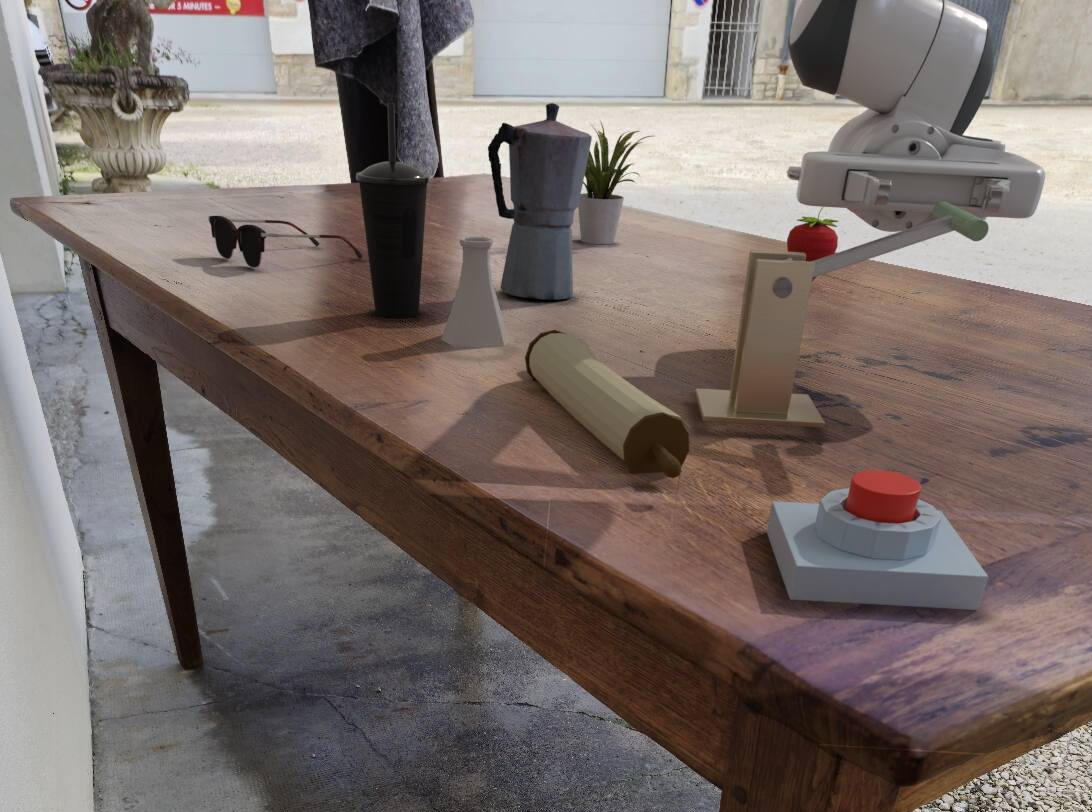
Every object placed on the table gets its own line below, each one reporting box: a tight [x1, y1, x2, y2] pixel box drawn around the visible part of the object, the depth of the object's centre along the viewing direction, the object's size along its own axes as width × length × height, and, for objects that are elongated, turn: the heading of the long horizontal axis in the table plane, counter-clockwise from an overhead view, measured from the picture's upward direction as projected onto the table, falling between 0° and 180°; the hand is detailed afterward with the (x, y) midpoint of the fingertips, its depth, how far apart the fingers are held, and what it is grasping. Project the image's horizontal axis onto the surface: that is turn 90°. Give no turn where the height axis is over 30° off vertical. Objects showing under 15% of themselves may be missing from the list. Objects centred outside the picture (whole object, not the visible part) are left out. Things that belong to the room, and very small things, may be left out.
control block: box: [766, 487, 989, 611], centre depth 64 cm, size 11×10×4 cm
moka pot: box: [487, 102, 593, 301], centre depth 121 cm, size 10×15×20 cm, turn 136°
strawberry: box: [786, 207, 839, 282], centre depth 135 cm, size 6×8×10 cm
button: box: [845, 470, 922, 524], centre depth 62 cm, size 4×4×2 cm
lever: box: [784, 201, 990, 278], centre depth 82 cm, size 16×10×2 cm, turn 87°
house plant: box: [577, 120, 654, 245], centre depth 157 cm, size 14×14×16 cm
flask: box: [441, 235, 510, 349], centre depth 103 cm, size 7×7×10 cm
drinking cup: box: [355, 102, 431, 319], centre depth 111 cm, size 8×8×20 cm
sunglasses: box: [207, 215, 363, 269], centre depth 140 cm, size 14×16×5 cm
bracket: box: [694, 249, 826, 429], centre depth 86 cm, size 10×8×13 cm
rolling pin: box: [524, 329, 692, 479], centre depth 84 cm, size 32×6×5 cm, turn 16°
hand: (939, 196), depth 83 cm, fingers open, 8 cm apart
